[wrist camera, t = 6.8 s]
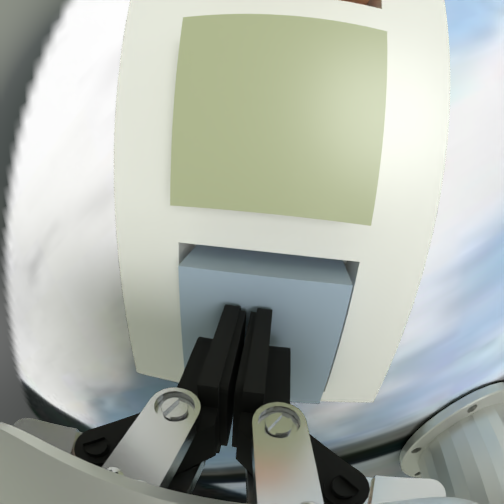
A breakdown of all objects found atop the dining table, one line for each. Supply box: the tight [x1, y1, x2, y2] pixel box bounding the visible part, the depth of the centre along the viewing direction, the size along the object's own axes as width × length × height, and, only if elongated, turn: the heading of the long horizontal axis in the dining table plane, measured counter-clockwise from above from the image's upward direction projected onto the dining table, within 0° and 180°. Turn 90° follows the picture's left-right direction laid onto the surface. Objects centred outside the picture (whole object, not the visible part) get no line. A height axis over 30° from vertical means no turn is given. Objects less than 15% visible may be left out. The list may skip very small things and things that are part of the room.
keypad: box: [114, 0, 450, 402], centre depth 10 cm, size 24×12×3 cm, turn 176°
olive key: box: [170, 14, 387, 226], centre depth 8 cm, size 6×6×2 cm
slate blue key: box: [178, 245, 353, 404], centre depth 12 cm, size 6×6×2 cm
